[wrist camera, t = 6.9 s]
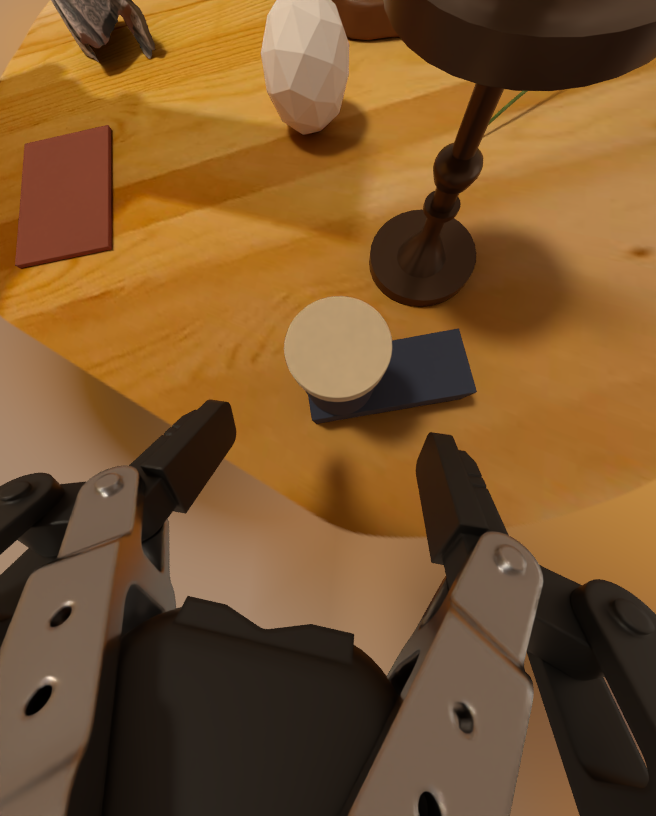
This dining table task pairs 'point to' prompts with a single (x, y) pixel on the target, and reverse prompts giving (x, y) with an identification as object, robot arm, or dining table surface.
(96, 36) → the grey patterned crumpled piece
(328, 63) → the geometric ball
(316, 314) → the bootie
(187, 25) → the dining table surface
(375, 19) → the plant
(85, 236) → the mat
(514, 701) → the robot arm
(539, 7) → the candlestick
